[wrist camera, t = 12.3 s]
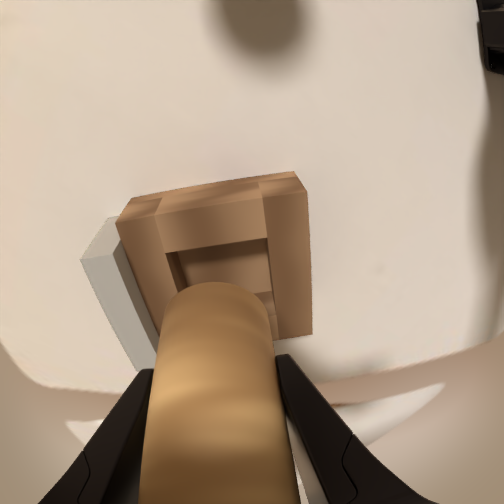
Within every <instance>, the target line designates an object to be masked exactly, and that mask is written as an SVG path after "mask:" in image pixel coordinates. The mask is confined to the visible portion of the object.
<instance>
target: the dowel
mask: <svg viewBox="0 0 504 504" xmlns="http://www.w3.org/2000/svg"><path fill="white" fill-rule="evenodd" d="M138 504H301V501H300V495H299V489H298V483H297V477H296V472H295V466H294V460H293V454H292V449H291V443H290V437H289V431H288V426H287V420H286V414H285V409H284V404H283V399H282V395H281V389H280V383H279V378H278V372H277V366H276V361H275V352H274V346H273V341H272V335H271V330H270V324H269V318H268V313H267V311H266V308H265V306H264V305H263V303H262V302H261V301H260V299H259V298H258V297H257V296H255V295H254V294H253V293H251V292H250V291H248V290H246V289H244V288H242V287H240V286H237V285H234V284H230V283H223V282H206V283H200V284H196V285H193V286H190V287H188V288H186V289H184V290H182V291H180V292H179V293H178V294H176V295H175V296H174V297H173V298H172V299H171V300H170V302H169V303H168V305H167V307H166V309H165V313H164V317H163V322H162V328H161V333H160V339H159V344H158V350H157V356H156V361H155V367H154V374H153V380H152V386H151V393H150V400H149V407H148V414H147V421H146V429H145V437H144V446H143V455H142V464H141V474H140V485H139V497H138Z"/></svg>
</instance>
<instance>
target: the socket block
mask: <svg viewBox="0 0 504 504" xmlns="http://www.w3.org/2000/svg"><path fill="white" fill-rule="evenodd" d="M115 225H116V228H117V231H118V234H119V237H120V240H121V243H122V245H123V248H124V251H125V254H126V257H127V259H128V262H129V265H130V267H131V270H132V273H133V275H134V278H135V280H136V283H137V286H138V288H139V291H140V293H141V296H142V298H143V301H144V303H145V305H146V308H147V310H148V313H149V315H150V317H151V320H152V322H153V324H154V327H155V329H156V331H157V333H158V336H159V338H160V333H161V328H162V322H163V317H164V313H165V309H166V307H167V305H168V303H169V302H170V300H171V299H172V298H173V297H174V296H175V295H176V294H178V293H179V292H180V291H182V290H184V289H186V288H188V287H190V286H193V285H196V284H200V283H206V282H223V283H230V284H234V285H237V286H240V287H242V288H244V289H246V290H248V291H250V292H251V293H253V294H254V295H255V296H257V297H258V298H259V299H260V301H261V302H262V303H263V305H264V306H265V308H266V311H267V313H268V318H269V324H270V330H271V335H272V341H274V340H281V339H287V338H293V337H299V336H305V335H310V334H312V285H311V256H310V233H309V214H308V197H307V191H306V189H305V188H304V186H303V184H302V183H301V181H300V180H299V178H298V177H297V175H296V174H295V172H294V171H292V172H284V173H276V174H269V175H262V176H255V177H248V178H241V179H234V180H228V181H222V182H215V183H209V184H203V185H198V186H192V187H186V188H181V189H175V190H170V191H165V192H160V193H155V194H150V195H145V196H140V197H135V198H131V200H130V201H129V203H128V204H127V206H126V207H125V208H124V210H123V211H122V213H121V214H120V216H119V217H118V219H117V220H116V222H115Z"/></svg>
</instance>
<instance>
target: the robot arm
mask: <svg viewBox="0 0 504 504" xmlns="http://www.w3.org/2000/svg"><path fill="white" fill-rule="evenodd" d="M478 4H479V11H480V17H481V25H482V33H483V43H484V55H485V66H486V69H487V70H488V71H489V72H492V73H496V74H501V75H504V0H478ZM491 64H492V68H491ZM275 361H276V366H277V372H278V378H279V383H280V389H281V395H282V399H283V404H284V409H285V414H286V420H287V426H288V431H289V437H290V443H291V447H292V450H293V454H294V457H295V460H296V463H297V467H298V470H299V473H300V476H301V480H302V483H303V486H304V489H305V493H306V496H307V499H308V502H309V504H438V503H436V502H433V501H430V500H428V499H426V498H424V497H423V496H421V495H419V494H418V493H416V492H415V491H414V490H412V489H411V488H410V487H409V486H408V485H406V484H405V483H404V482H403V481H402V480H400V479H399V478H398V477H397V476H396V475H395V474H393V473H392V472H391V471H390V470H389V469H387V468H386V467H385V466H384V465H383V464H382V463H381V462H380V461H379V460H378V459H377V458H376V457H375V456H374V455H373V454H372V453H371V452H370V451H369V450H368V449H367V448H366V447H365V446H364V445H363V444H362V442H361V441H360V440H359V439H358V438H357V436H356V435H355V434H353V432H352V431H351V430H350V428H349V427H348V426H347V425H346V424H345V422H344V421H343V420H342V419H341V417H340V416H339V415H338V414H337V413H336V411H335V410H334V409H333V408H332V407H331V405H330V404H329V403H328V402H327V401H326V399H325V398H324V397H323V396H322V395H321V393H320V392H319V391H318V390H317V388H316V387H315V386H314V384H313V383H312V382H311V381H310V380H309V378H308V377H307V376H306V375H305V373H304V372H303V371H302V370H301V368H300V367H299V366H298V365H297V363H296V362H295V361H294V360H293V358H292V357H291V356H290V355H289V354H284V355H277V356H276V357H275ZM153 374H154V368H146V369H142V370H140V371H139V373H138V374H137V376H136V377H135V378H134V380H133V381H132V382H131V384H130V385H129V386H128V388H127V389H126V391H125V392H124V393H123V395H122V396H121V397H120V399H119V400H118V402H117V403H116V404H115V406H114V407H113V409H112V410H111V411H110V413H109V414H108V415H107V417H106V418H105V419H104V421H103V422H102V424H101V425H100V426H99V428H98V429H97V431H96V432H95V433H94V435H93V436H92V437H91V439H90V440H89V442H88V443H87V444H86V446H85V447H84V449H83V451H81V453H80V454H79V456H78V457H77V458H76V460H75V461H74V462H73V464H72V465H71V466H70V468H69V469H68V470H67V471H66V473H65V474H64V475H63V476H62V478H61V479H60V480H59V481H58V482H57V483H56V484H55V485H54V487H53V488H52V489H51V490H50V491H49V492H48V493H47V494H46V495H45V496H44V498H43V499H42V500H41V501H40V502H39V503H38V504H138V497H139V485H140V474H141V464H142V455H143V446H144V437H145V429H146V421H147V414H148V407H149V400H150V393H151V386H152V380H153ZM352 434H353V435H352Z"/></svg>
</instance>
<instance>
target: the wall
mask: <svg viewBox="0 0 504 504" xmlns="http://www.w3.org/2000/svg"><path fill="white" fill-rule="evenodd" d="M118 217H119V216H117V217H112V218H108V219H107V221H106V222H105V223H104V225H103V226H102V228H101V229H100V230H99V232H98V233H97V235H96V236H95V238H94V239H93V241H92V242H91V244H90V245H89V247H88V248H87V250H86V251H85V253H84V254H83V256H82V257H81V259H80V261H81V263H82V265H83V268H84V270H85V272H86V275H87V277H88V279H89V281H90V283H91V286H92V288H93V290H94V292H95V294H96V296H97V298H98V300H99V302H100V304H101V307H102V309H103V311H104V313H105V315H106V317H107V318H108V320H109V322H110V324H111V326H112V328H113V330H114V332H115V334H116V336H117V338H118V339H119V341H120V343H121V345H122V347H123V348H124V350H125V352H126V354H127V356H128V357H129V359H130V361H131V363H132V364H133V366H134V368H135V369H136V371H140V370H142V369H146V368H154V367H155V361H156V356H157V350H158V344H159V339H160V338H159V336H158V333H157V331H156V329H155V327H154V324H153V322H152V320H151V317H150V315H149V313H148V310H147V308H146V305H145V303H144V301H143V298H142V296H141V293H140V291H139V288H138V286H137V283H136V280H135V278H134V275H133V273H132V270H131V267H130V265H129V262H128V259H127V257H126V254H125V251H124V248H123V245H122V243H121V240H120V237H119V234H118V231H117V228H116V225H115V222H116V220H117V219H118Z"/></svg>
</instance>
